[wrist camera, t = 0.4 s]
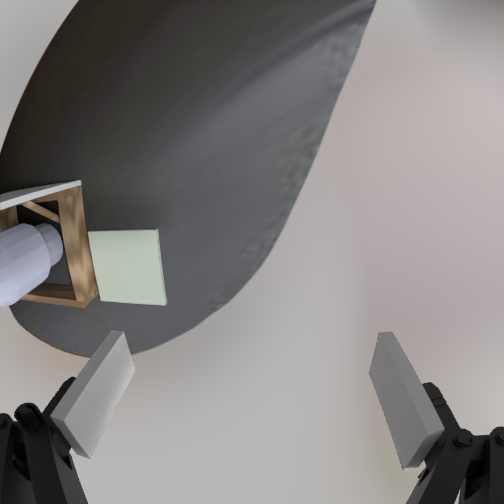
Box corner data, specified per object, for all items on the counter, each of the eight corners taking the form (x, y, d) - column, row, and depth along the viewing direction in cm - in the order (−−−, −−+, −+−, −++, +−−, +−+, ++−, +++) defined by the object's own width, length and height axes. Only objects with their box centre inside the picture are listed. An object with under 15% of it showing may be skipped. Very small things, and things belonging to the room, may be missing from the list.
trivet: (90, 230, 42) (87, 231, 41) (157, 228, 42) (155, 230, 41) (103, 298, 46) (101, 300, 45) (166, 302, 45) (165, 305, 45)
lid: (9, 191, 40) (-66, 216, 23) (81, 179, 40) (-8, 204, 22) (10, 196, 41) (-65, 223, 23) (82, 185, 40) (-7, 213, 22)
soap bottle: (45, 276, 46) (-41, 344, 23) (23, 227, 43) (-73, 277, 20) (79, 259, 44) (-19, 335, 21) (55, 204, 41) (-57, 252, 18)
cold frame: (10, 193, 41) (-35, 208, 29) (80, 182, 40) (31, 196, 28) (29, 287, 47) (-8, 314, 36) (98, 294, 46) (61, 330, 35)
